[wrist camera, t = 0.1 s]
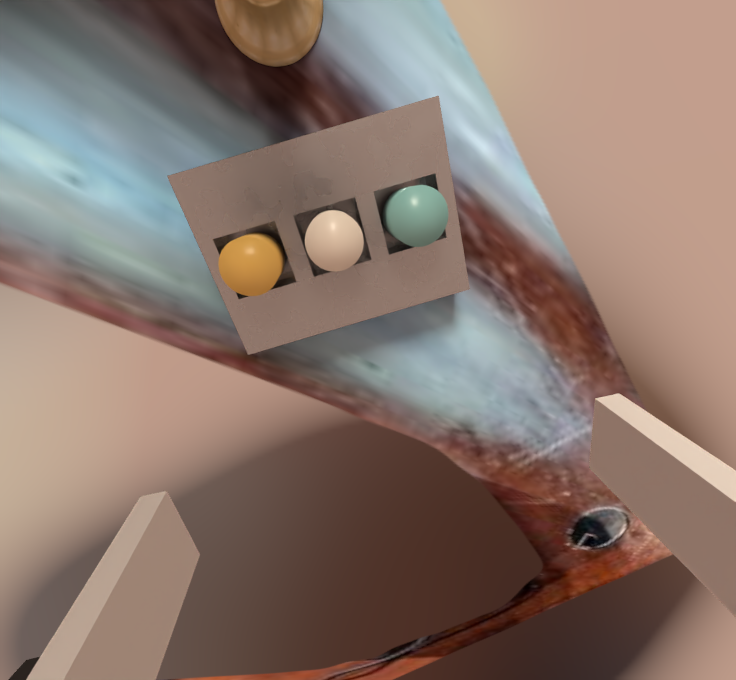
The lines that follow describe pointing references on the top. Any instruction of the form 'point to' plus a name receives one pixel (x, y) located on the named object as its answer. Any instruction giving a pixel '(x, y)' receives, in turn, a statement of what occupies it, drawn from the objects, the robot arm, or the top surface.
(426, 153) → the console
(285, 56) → the hand bell
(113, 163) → the top surface
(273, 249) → the amber button
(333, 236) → the ivory button
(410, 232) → the teal button
